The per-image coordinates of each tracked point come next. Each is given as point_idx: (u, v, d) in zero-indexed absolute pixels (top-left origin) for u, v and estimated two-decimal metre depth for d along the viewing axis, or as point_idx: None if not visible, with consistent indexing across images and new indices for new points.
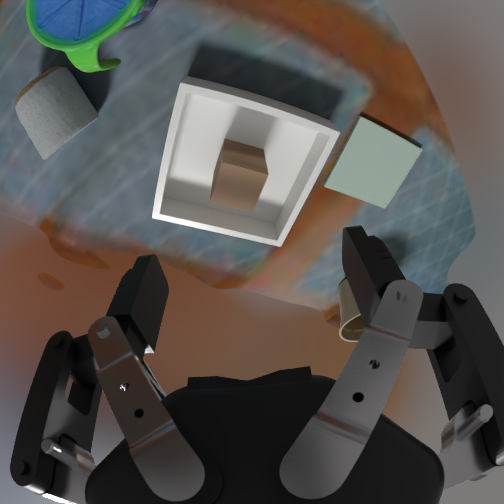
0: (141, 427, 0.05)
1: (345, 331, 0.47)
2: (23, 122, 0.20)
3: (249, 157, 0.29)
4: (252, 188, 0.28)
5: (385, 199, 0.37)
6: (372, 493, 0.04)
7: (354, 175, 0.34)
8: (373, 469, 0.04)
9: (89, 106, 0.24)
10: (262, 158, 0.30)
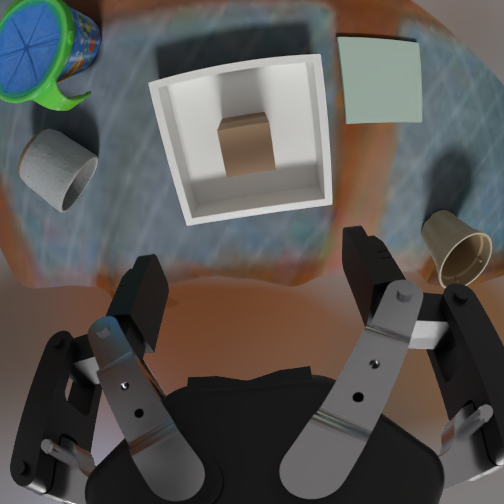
0: (141, 427, 0.05)
1: (447, 280, 0.35)
2: (30, 186, 0.25)
3: (248, 119, 0.26)
4: (261, 144, 0.25)
5: (416, 112, 0.28)
6: (372, 493, 0.04)
7: (369, 98, 0.27)
8: (373, 469, 0.04)
9: (83, 150, 0.27)
10: (263, 116, 0.27)
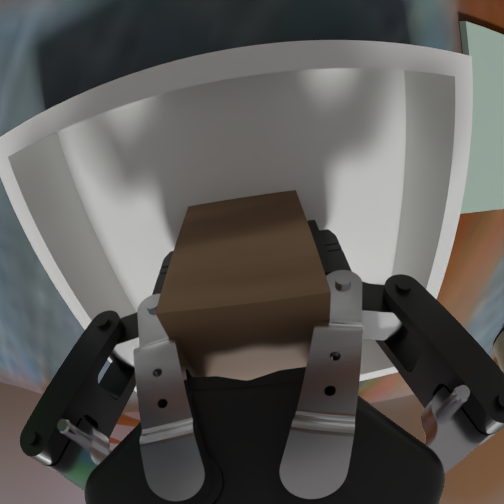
0: (160, 418, 0.05)
1: None
2: None
3: (255, 242, 0.09)
4: (295, 344, 0.08)
5: None
6: (372, 493, 0.04)
7: (502, 163, 0.11)
8: (373, 469, 0.04)
9: None
10: (297, 221, 0.10)
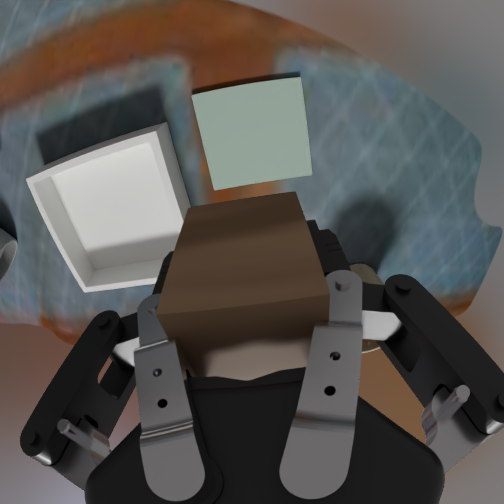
0: (160, 418, 0.05)
1: None
2: None
3: (255, 243, 0.09)
4: (294, 345, 0.08)
5: (302, 164, 0.28)
6: (372, 493, 0.04)
7: (238, 159, 0.28)
8: (373, 469, 0.04)
9: None
10: (297, 223, 0.10)
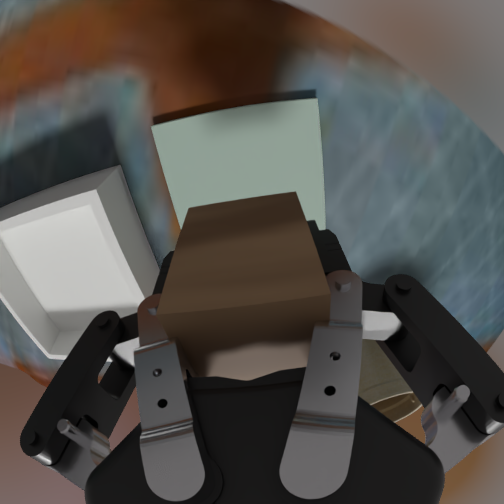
0: (160, 418, 0.05)
1: None
2: None
3: (255, 243, 0.09)
4: (295, 345, 0.08)
5: None
6: (372, 493, 0.04)
7: None
8: (373, 469, 0.04)
9: None
10: (298, 222, 0.10)
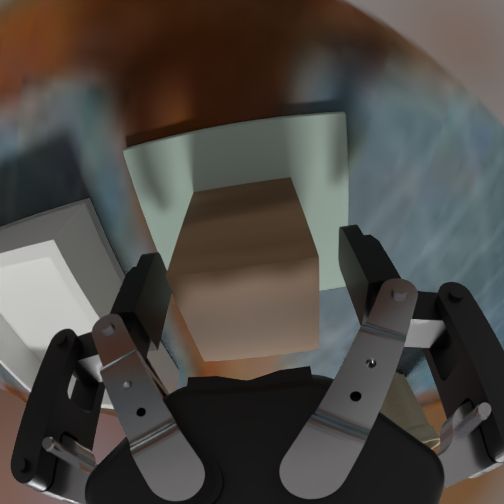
0: (143, 426, 0.05)
1: None
2: None
3: (253, 219, 0.11)
4: (289, 308, 0.10)
5: (332, 272, 0.16)
6: (372, 493, 0.04)
7: None
8: (373, 469, 0.04)
9: None
10: (291, 202, 0.11)
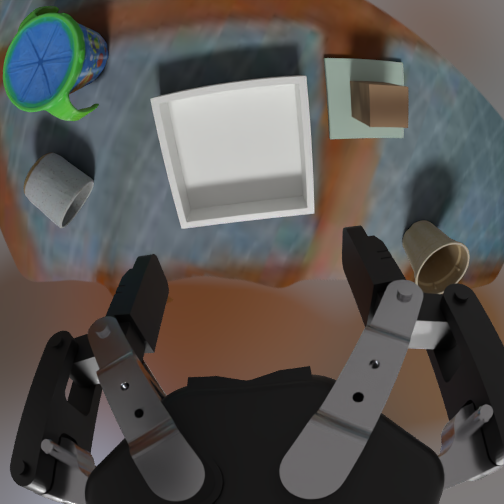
0: (142, 427, 0.05)
1: (425, 286, 0.38)
2: (34, 204, 0.30)
3: (382, 83, 0.26)
4: (400, 104, 0.25)
5: (398, 128, 0.32)
6: (372, 493, 0.04)
7: None
8: (373, 469, 0.04)
9: (80, 175, 0.32)
10: (391, 83, 0.26)
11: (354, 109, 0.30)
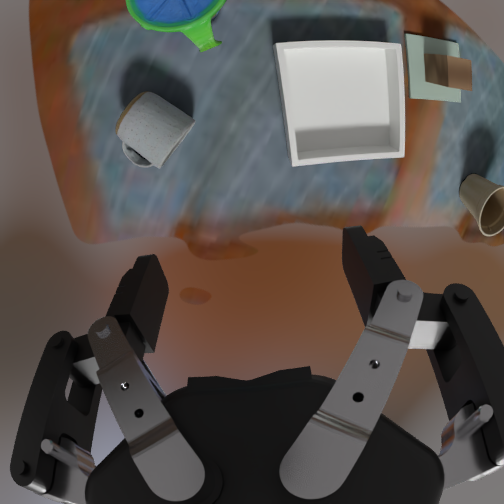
0: (141, 427, 0.05)
1: (483, 228, 0.39)
2: (130, 140, 0.31)
3: None
4: (466, 72, 0.25)
5: (456, 94, 0.32)
6: (372, 493, 0.04)
7: None
8: (373, 469, 0.04)
9: None
10: None
11: (429, 75, 0.30)
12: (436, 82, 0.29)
